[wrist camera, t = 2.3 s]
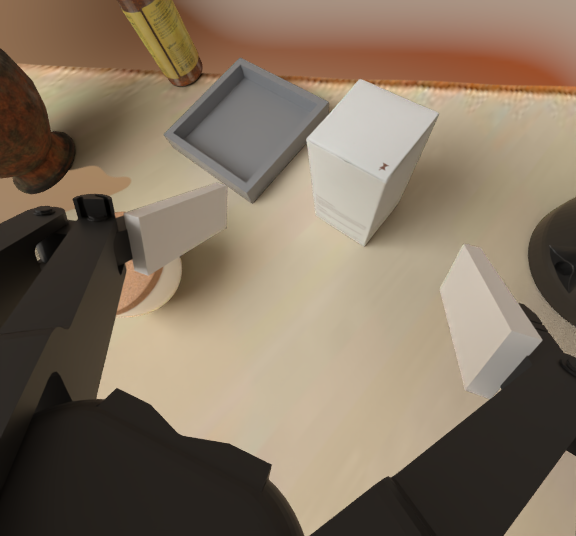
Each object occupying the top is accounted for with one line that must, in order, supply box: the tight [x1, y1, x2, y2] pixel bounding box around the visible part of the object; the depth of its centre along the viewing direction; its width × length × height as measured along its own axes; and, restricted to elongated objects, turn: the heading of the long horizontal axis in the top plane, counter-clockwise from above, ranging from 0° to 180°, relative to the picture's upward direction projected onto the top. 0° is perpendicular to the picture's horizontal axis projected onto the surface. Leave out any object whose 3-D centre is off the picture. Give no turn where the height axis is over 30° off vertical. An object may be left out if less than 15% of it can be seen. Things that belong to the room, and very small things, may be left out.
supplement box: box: [306, 79, 439, 246], centre depth 26 cm, size 7×7×13 cm
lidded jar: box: [115, 212, 182, 318], centre depth 29 cm, size 11×11×9 cm
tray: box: [164, 58, 329, 204], centre depth 36 cm, size 16×16×2 cm
